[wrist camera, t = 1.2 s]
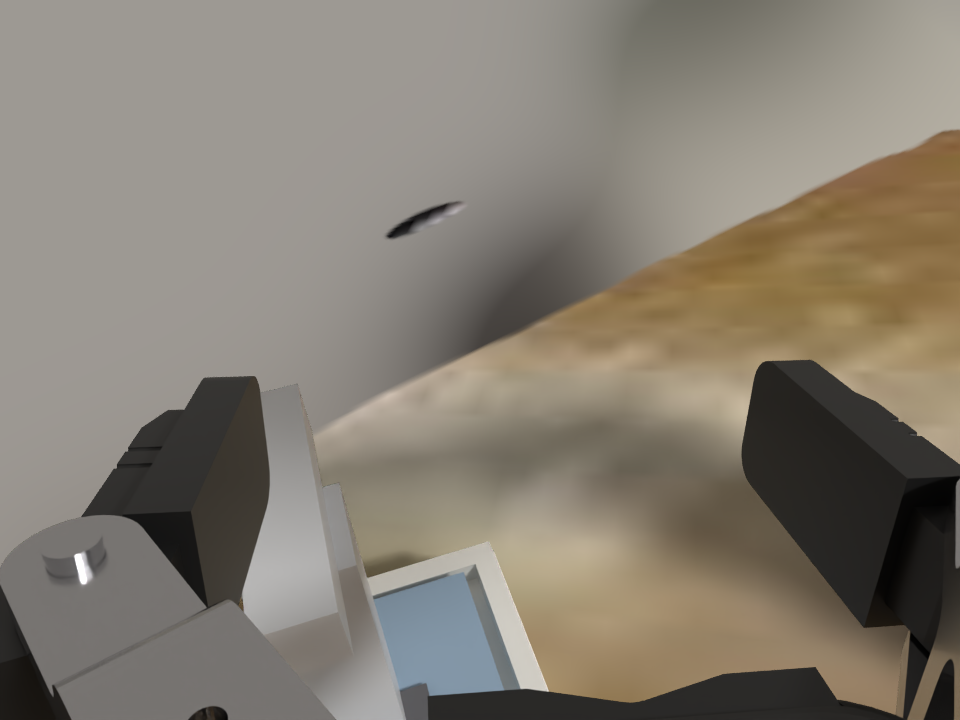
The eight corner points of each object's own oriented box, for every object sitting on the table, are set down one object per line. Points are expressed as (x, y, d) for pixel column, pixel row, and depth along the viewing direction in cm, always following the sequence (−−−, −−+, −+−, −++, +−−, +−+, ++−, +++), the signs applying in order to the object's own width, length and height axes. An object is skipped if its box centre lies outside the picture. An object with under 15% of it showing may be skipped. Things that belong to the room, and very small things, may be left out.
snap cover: (466, 595, 34) (429, 321, 24) (552, 850, 26) (553, 607, 16) (232, 669, 32) (75, 405, 22) (247, 971, 24) (6, 787, 13)
